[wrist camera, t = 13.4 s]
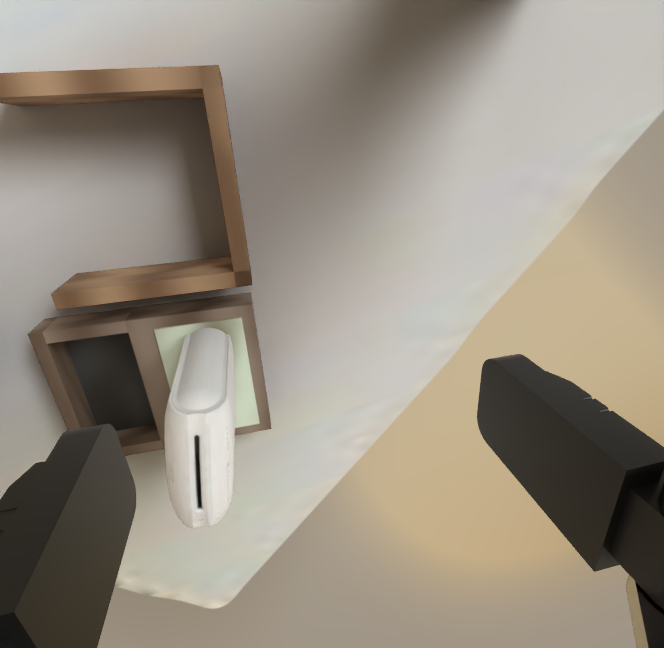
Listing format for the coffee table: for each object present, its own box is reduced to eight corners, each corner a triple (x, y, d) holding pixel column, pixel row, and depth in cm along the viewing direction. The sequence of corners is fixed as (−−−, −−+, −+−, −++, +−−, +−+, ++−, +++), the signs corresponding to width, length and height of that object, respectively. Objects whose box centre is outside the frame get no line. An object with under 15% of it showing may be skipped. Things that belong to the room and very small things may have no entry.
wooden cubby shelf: (221, 77, 30) (218, 65, 25) (250, 267, 36) (252, 285, 31) (12, 86, 27) (-32, 74, 23) (81, 287, 33) (56, 309, 29)
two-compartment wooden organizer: (250, 292, 36) (251, 305, 34) (269, 410, 42) (271, 430, 39) (44, 319, 34) (26, 335, 31) (92, 441, 39) (81, 465, 36)
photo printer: (235, 426, 38) (234, 541, 27) (187, 428, 37) (165, 549, 26) (235, 325, 34) (234, 412, 23) (181, 325, 33) (152, 416, 22)
